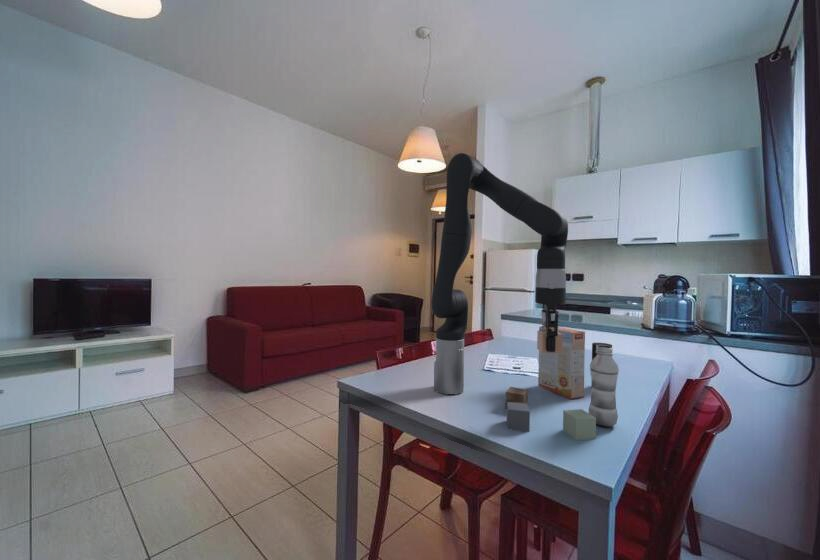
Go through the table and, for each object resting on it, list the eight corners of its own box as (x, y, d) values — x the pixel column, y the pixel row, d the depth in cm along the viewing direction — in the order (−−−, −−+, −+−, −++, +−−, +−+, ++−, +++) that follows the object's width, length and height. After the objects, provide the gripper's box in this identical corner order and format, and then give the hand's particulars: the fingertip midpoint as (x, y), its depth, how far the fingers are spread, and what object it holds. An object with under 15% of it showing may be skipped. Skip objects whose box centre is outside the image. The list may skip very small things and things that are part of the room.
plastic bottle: (606, 418, 88) (608, 343, 87) (624, 430, 81) (625, 349, 81) (583, 418, 87) (584, 343, 87) (598, 430, 81) (600, 349, 80)
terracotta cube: (542, 352, 86) (542, 333, 86) (537, 348, 91) (537, 330, 91) (562, 353, 85) (562, 334, 85) (556, 349, 90) (556, 331, 90)
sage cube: (576, 440, 76) (576, 419, 76) (563, 430, 81) (563, 410, 81) (595, 439, 76) (596, 417, 76) (581, 429, 81) (581, 409, 81)
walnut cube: (505, 409, 93) (505, 391, 93) (510, 403, 98) (510, 386, 98) (523, 413, 91) (524, 395, 91) (527, 407, 95) (527, 389, 95)
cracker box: (585, 397, 103) (586, 331, 103) (570, 400, 101) (571, 332, 100) (550, 383, 116) (551, 324, 116) (537, 385, 114) (538, 325, 113)
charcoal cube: (508, 429, 81) (508, 409, 81) (506, 420, 86) (507, 401, 86) (529, 431, 80) (529, 411, 80) (526, 422, 85) (527, 403, 85)
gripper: (533, 285, 96) (532, 343, 96) (537, 286, 82) (536, 354, 82) (561, 285, 93) (560, 344, 94) (570, 287, 80) (569, 356, 80)
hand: (549, 348), depth 88 cm, fingers closed on terracotta cube, 5 cm apart
